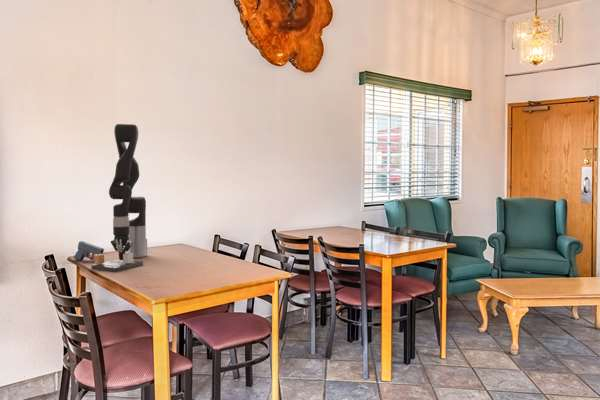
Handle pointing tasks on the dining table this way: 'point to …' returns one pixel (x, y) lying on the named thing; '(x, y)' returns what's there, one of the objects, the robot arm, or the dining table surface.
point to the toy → (87, 251)
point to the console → (116, 265)
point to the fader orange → (98, 258)
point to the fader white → (128, 258)
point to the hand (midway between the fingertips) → (121, 259)
